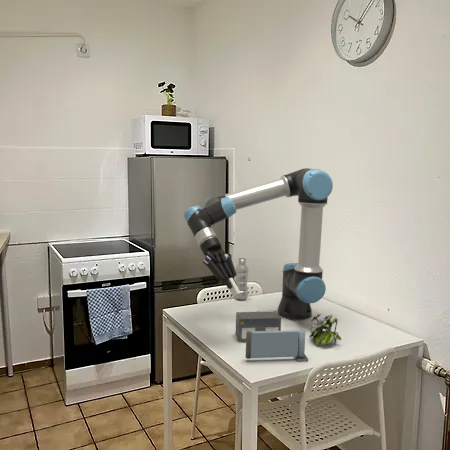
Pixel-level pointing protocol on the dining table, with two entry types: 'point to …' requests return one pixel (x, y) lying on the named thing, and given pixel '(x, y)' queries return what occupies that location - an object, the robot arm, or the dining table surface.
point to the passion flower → (328, 334)
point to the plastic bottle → (242, 279)
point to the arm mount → (301, 358)
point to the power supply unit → (256, 323)
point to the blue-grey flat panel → (275, 344)
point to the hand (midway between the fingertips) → (237, 295)
